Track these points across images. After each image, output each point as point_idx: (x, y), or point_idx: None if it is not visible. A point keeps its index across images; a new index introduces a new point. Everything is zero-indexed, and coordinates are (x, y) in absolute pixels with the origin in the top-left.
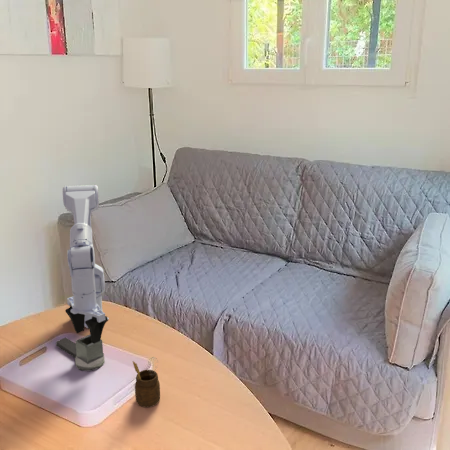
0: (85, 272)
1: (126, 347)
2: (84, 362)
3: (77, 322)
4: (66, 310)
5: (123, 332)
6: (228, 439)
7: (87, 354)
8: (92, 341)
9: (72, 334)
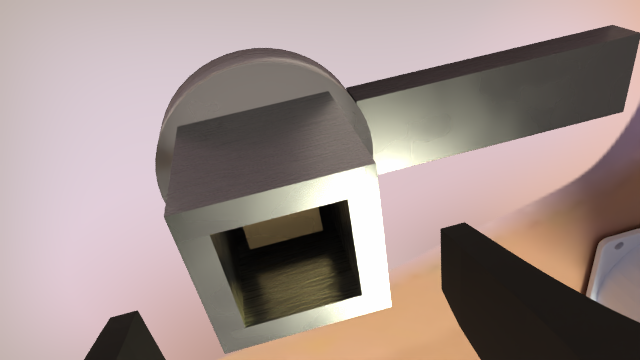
0: None
1: (295, 341)
2: (214, 114)
3: (526, 346)
4: None
5: (431, 355)
6: None
7: (174, 176)
8: (115, 330)
9: (626, 155)
